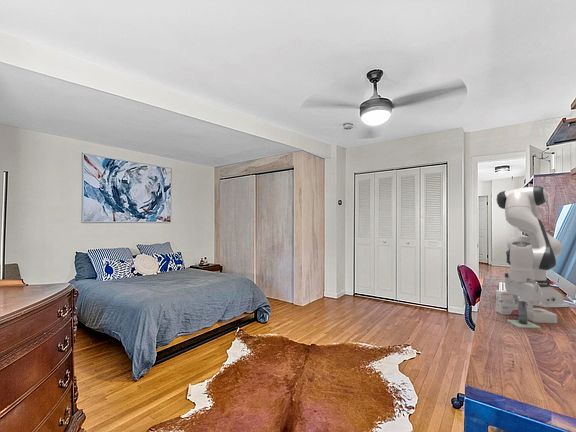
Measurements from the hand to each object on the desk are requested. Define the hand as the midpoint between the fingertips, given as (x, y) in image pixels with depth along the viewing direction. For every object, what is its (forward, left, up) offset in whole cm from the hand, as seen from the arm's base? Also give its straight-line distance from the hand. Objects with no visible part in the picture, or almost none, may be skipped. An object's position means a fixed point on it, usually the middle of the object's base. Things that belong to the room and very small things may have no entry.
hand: (522, 306), depth 135 cm
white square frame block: (-12, -9, -8) cm, 17 cm away
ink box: (-3, -17, -9) cm, 19 cm away
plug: (0, 0, -8) cm, 8 cm away
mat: (0, 0, -8) cm, 8 cm away
